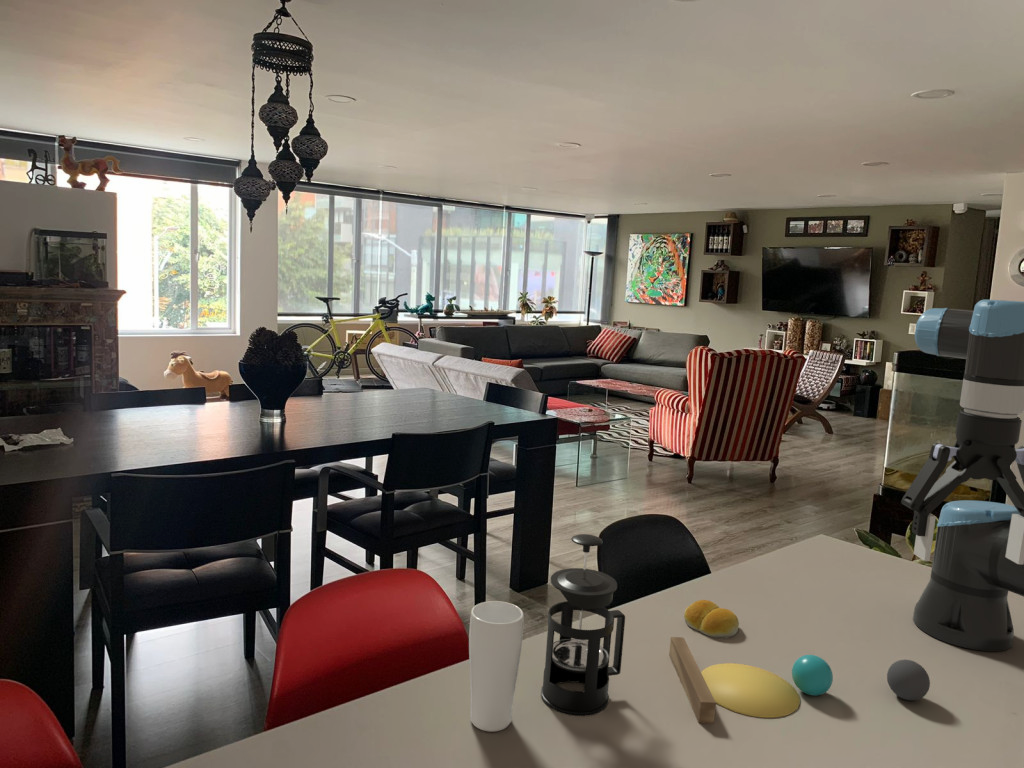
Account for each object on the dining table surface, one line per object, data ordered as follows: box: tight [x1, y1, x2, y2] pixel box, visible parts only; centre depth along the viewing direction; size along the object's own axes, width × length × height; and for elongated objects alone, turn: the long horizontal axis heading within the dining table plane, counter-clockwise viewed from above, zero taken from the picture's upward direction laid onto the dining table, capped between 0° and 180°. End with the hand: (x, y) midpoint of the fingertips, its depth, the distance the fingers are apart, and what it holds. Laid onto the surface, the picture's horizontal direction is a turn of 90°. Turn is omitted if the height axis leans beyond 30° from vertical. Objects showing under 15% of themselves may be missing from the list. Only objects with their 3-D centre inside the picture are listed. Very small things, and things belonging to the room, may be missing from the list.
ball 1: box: [791, 654, 834, 697], centre depth 110 cm, size 6×6×6 cm
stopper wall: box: [668, 636, 717, 725], centre depth 110 cm, size 2×18×3 cm, turn 1°
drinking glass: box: [468, 600, 524, 733], centre depth 97 cm, size 7×7×15 cm
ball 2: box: [886, 659, 931, 701], centre depth 110 cm, size 6×6×6 cm
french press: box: [540, 533, 626, 717], centre depth 104 cm, size 12×9×23 cm
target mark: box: [700, 662, 801, 719], centre depth 110 cm, size 14×14×1 cm
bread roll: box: [683, 599, 740, 638], centre depth 130 cm, size 8×9×4 cm
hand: (967, 559), depth 109 cm, fingers open, 13 cm apart
